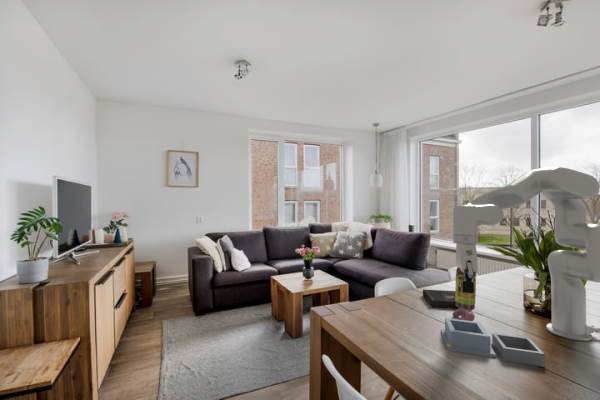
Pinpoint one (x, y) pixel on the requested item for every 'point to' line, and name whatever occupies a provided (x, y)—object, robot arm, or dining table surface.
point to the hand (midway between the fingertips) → (465, 289)
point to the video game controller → (464, 314)
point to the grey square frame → (518, 349)
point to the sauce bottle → (463, 298)
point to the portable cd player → (440, 299)
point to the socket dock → (467, 337)
